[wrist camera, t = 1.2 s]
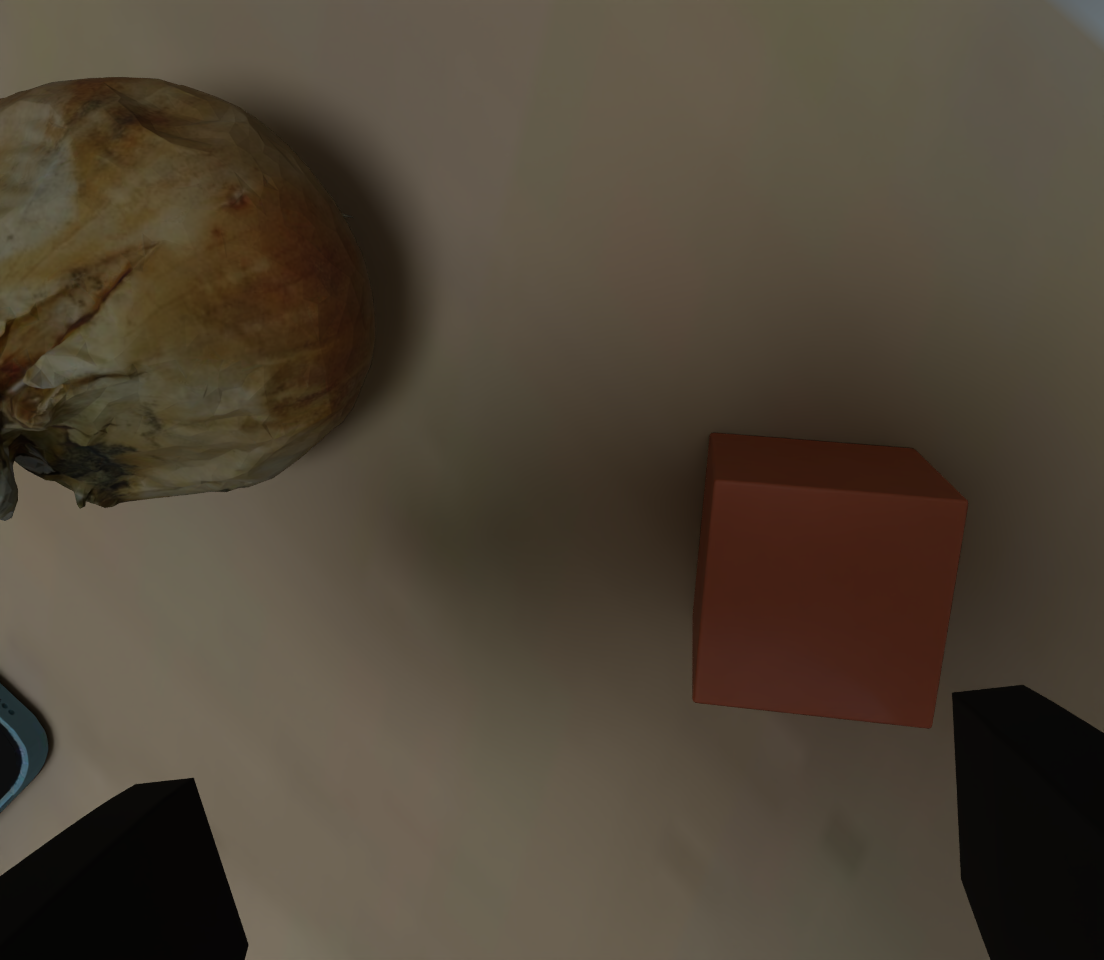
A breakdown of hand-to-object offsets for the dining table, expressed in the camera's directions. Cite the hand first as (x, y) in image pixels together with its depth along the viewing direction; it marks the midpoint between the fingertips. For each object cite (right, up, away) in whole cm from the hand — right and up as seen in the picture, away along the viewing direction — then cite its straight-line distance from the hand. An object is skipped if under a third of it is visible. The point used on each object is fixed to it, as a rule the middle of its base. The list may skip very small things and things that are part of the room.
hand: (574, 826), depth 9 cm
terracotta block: (+5, +2, +11) cm, 12 cm away
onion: (-7, +7, +11) cm, 15 cm away
